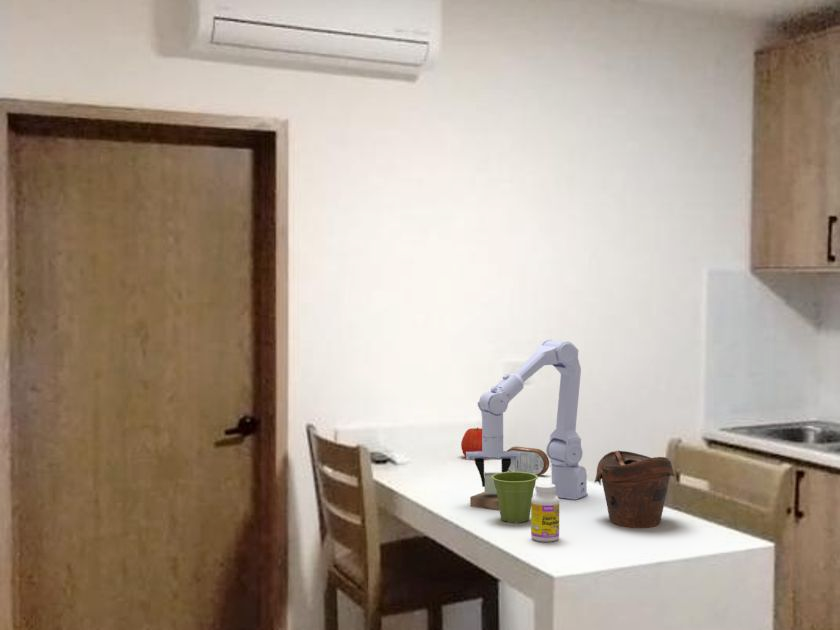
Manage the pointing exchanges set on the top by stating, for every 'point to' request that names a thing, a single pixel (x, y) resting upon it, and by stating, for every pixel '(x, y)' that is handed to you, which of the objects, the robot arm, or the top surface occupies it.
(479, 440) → the apple
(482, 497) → the brown square block
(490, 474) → the sage block
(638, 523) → the rusty brown bucket
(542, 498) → the supplement bottle
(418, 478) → the top surface
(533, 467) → the tin
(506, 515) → the plant pot
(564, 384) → the robot arm
